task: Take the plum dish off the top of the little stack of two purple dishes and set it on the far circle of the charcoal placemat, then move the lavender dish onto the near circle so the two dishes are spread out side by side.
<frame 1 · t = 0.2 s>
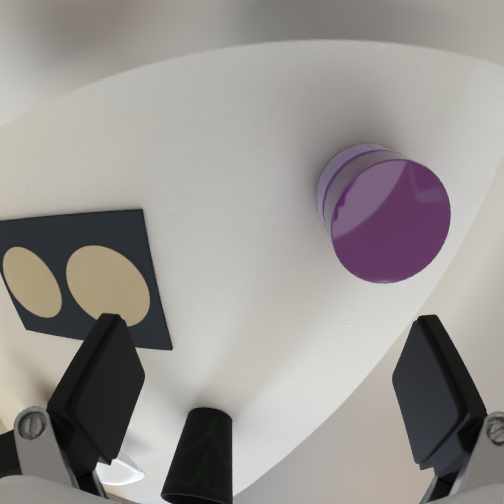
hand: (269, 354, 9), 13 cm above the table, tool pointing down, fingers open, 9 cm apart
placemat: (66, 284, 26), on the table
lavender dish: (365, 192, 20), on the table, touching plum dish
plum dish: (378, 207, 18), point 3 cm above the table, touching lavender dish
bowl: (83, 429, 41), on the table
cup: (210, 418, 34), on the table
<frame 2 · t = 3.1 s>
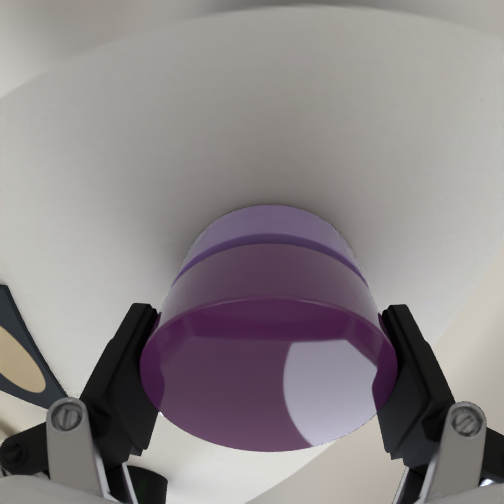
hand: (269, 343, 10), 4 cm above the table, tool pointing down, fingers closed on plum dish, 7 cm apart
lavender dish: (270, 281, 13), on the table, touching plum dish
plum dish: (269, 329, 10), point 3 cm above the table, touching gripper, lavender dish
cup: (144, 474, 27), on the table
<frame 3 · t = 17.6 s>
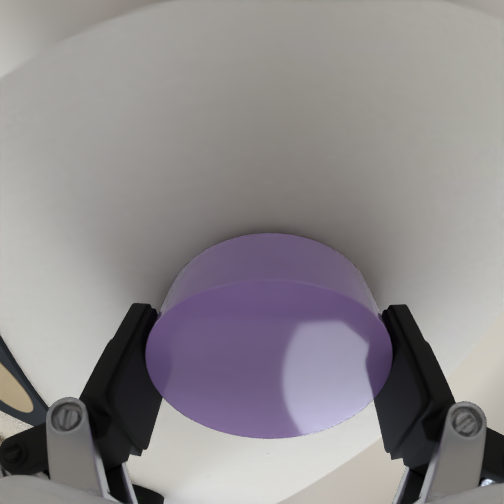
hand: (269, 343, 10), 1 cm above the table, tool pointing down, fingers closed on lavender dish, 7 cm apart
lavender dish: (269, 318, 11), on the table, touching gripper
cup: (140, 490, 25), on the table
when the fingers open (2 cm above the table, at t = 25.5 s): lavender dish stays where it is, resting on placemat.
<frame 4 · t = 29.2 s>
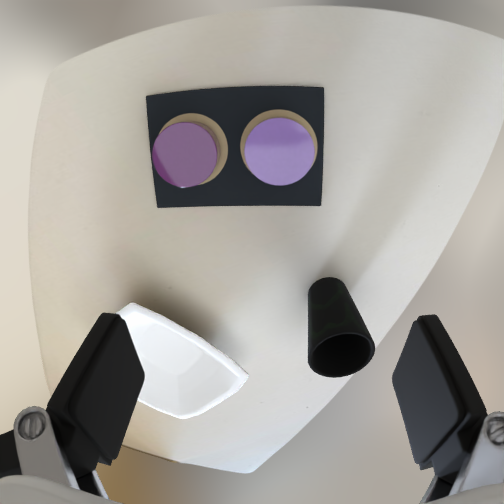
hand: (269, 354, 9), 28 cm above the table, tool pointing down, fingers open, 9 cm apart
placemat: (234, 147, 34), on the table
lavender dish: (278, 147, 33), resting on placemat
plum dish: (190, 150, 33), resting on placemat
bowl: (169, 348, 49), on the table
cup: (327, 293, 42), on the table
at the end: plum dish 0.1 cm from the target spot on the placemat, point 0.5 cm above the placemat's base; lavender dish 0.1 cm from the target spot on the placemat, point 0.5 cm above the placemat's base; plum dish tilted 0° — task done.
